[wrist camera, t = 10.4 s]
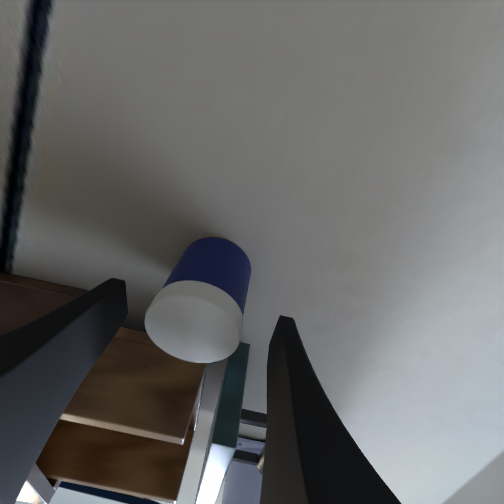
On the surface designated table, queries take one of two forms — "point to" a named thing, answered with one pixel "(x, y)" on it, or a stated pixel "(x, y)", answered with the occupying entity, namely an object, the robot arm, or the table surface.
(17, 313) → the cabinet
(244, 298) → the blue jar
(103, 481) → the drawer
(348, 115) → the table surface
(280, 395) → the robot arm
